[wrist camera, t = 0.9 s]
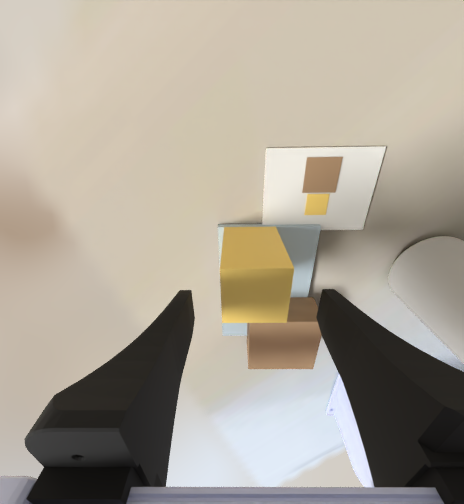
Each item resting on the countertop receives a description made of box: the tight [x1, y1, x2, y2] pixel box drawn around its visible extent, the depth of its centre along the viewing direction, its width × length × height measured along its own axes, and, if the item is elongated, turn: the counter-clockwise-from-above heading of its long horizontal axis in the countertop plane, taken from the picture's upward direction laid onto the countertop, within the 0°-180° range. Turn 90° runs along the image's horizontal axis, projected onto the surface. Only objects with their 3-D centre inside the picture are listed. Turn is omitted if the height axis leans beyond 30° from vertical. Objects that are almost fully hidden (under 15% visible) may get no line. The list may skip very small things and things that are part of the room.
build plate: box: [218, 224, 321, 336], centre depth 20 cm, size 12×8×1 cm, turn 1°
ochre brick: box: [220, 227, 294, 323], centre depth 16 cm, size 4×4×6 cm
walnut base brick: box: [247, 297, 322, 369], centre depth 21 cm, size 6×6×3 cm
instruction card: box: [262, 146, 386, 230], centre depth 16 cm, size 6×8×1 cm
